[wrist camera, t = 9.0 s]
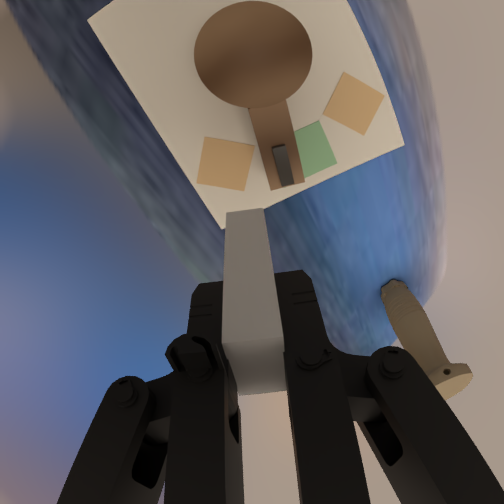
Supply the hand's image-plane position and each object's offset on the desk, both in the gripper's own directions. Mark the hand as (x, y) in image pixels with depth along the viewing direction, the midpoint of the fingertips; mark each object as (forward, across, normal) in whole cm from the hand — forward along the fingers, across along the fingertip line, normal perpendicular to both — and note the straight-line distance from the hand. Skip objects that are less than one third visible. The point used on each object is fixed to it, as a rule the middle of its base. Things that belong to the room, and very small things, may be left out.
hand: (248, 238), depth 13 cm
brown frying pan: (+13, +2, +4) cm, 14 cm away
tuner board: (+15, +2, +6) cm, 16 cm away
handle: (+14, +15, -19) cm, 28 cm away
